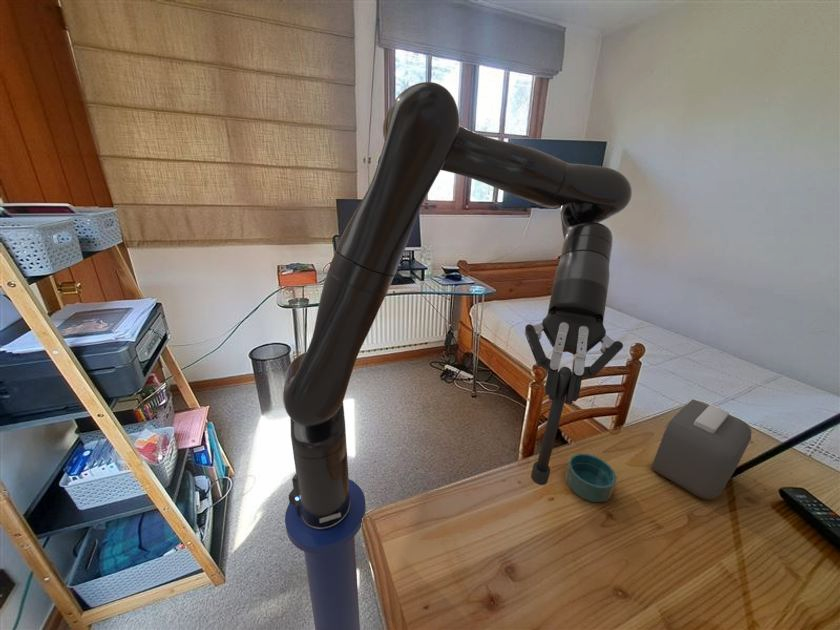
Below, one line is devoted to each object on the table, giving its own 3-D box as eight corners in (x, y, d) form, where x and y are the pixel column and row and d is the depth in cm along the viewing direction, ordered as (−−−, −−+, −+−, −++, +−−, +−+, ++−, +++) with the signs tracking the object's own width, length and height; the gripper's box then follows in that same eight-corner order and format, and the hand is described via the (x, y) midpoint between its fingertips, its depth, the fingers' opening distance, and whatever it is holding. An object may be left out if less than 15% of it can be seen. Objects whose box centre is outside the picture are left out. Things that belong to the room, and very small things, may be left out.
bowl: (568, 498, 69) (572, 481, 68) (562, 464, 78) (566, 449, 76) (616, 509, 67) (621, 492, 66) (605, 473, 76) (609, 458, 74)
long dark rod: (532, 484, 53) (559, 372, 45) (529, 470, 56) (554, 361, 47) (549, 485, 53) (579, 373, 45) (545, 472, 56) (573, 363, 47)
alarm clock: (676, 443, 85) (697, 392, 79) (734, 473, 77) (762, 418, 71) (648, 473, 76) (670, 417, 70) (710, 511, 68) (740, 450, 62)
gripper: (533, 269, 50) (508, 383, 45) (639, 284, 45) (625, 412, 40) (531, 292, 57) (509, 392, 51) (623, 306, 52) (609, 419, 47)
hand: (560, 400), depth 46 cm, fingers closed on long dark rod
